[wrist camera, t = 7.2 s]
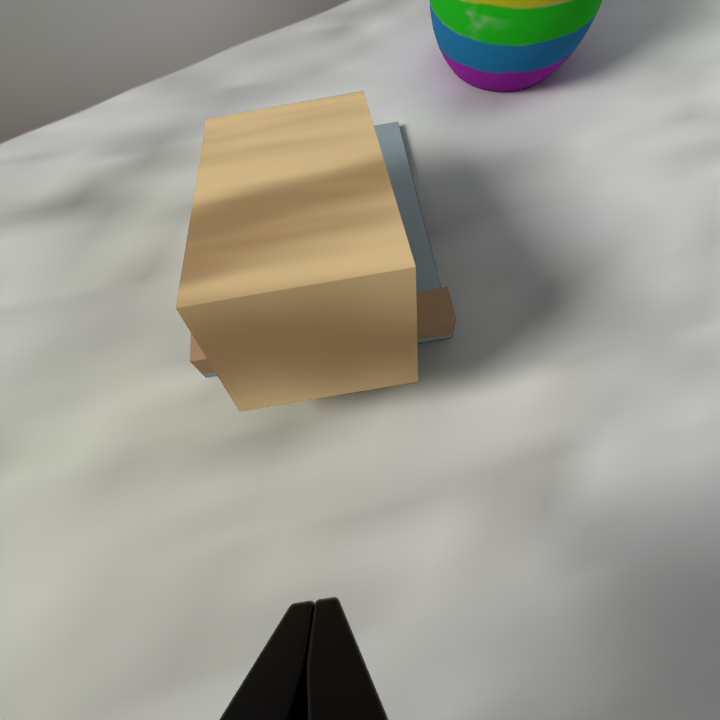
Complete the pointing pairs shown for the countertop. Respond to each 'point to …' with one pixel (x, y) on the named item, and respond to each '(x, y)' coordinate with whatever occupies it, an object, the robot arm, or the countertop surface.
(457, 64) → the decorative egg
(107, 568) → the countertop surface
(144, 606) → the countertop surface
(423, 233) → the slate mat
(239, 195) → the oak block
